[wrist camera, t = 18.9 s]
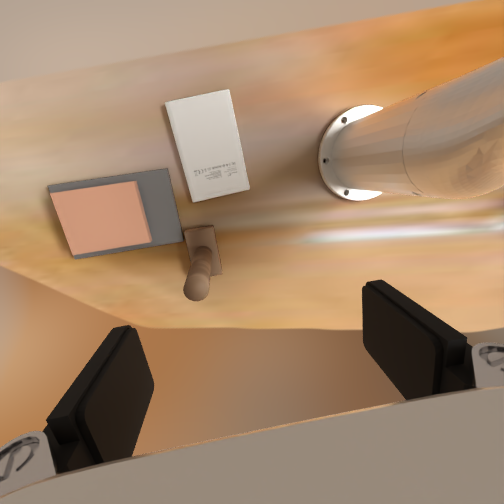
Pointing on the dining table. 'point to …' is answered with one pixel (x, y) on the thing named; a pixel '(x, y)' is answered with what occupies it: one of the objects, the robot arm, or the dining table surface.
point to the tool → (201, 261)
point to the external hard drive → (208, 144)
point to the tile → (102, 217)
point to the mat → (154, 202)
